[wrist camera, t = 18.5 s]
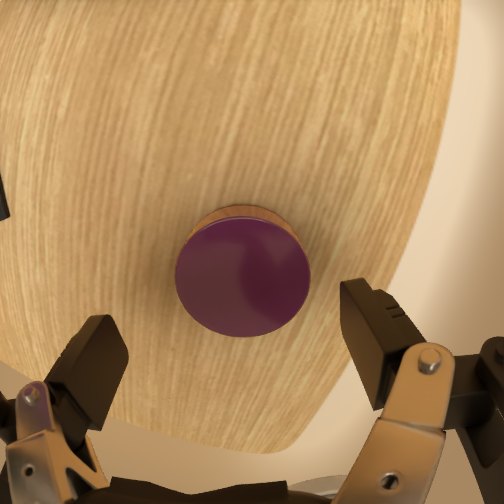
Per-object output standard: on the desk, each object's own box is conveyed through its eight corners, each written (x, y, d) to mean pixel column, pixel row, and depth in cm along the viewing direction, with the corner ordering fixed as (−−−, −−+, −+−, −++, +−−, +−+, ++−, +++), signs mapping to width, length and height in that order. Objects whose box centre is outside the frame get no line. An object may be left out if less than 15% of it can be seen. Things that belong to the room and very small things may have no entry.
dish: (304, 300, 16) (314, 328, 13) (199, 314, 16) (192, 343, 14) (294, 193, 14) (304, 206, 11) (173, 212, 14) (159, 229, 11)
